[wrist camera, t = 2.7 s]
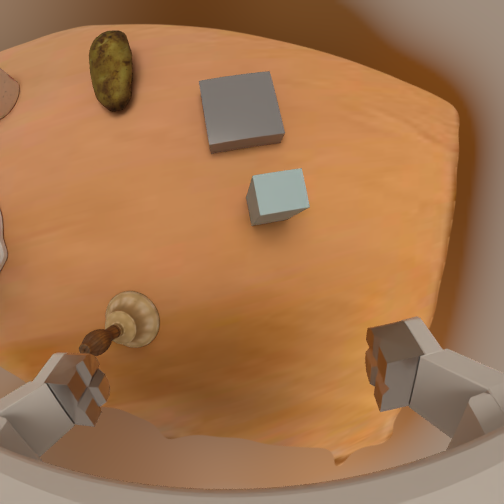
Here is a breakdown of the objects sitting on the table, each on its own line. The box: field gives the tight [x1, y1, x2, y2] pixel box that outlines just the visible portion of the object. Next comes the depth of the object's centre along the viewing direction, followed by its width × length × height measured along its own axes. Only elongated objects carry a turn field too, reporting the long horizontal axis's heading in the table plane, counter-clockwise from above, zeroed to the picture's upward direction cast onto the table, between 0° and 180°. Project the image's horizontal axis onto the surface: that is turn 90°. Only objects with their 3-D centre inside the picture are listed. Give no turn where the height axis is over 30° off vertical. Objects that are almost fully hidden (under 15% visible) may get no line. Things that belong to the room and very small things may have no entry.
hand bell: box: [79, 291, 159, 356], centre depth 35 cm, size 8×8×16 cm
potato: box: [89, 31, 133, 111], centre depth 39 cm, size 8×13×8 cm, turn 173°
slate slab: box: [199, 71, 285, 154], centre depth 42 cm, size 10×10×4 cm
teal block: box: [246, 168, 310, 226], centre depth 38 cm, size 4×5×13 cm
